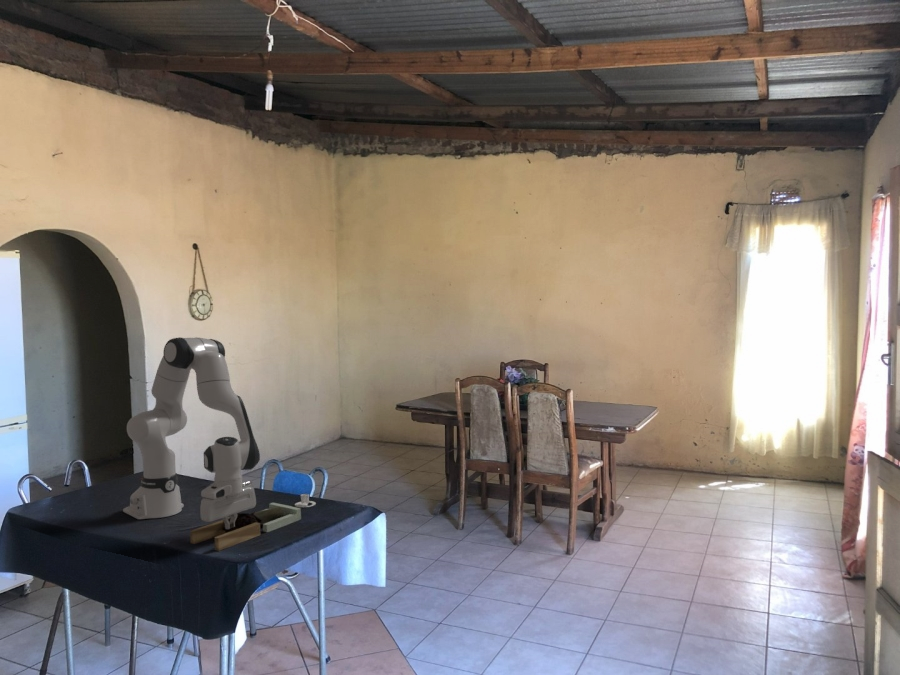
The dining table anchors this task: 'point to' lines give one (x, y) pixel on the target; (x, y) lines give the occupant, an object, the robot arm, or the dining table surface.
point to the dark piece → (256, 518)
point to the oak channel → (227, 538)
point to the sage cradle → (289, 517)
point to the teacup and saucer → (304, 501)
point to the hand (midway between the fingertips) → (230, 528)
